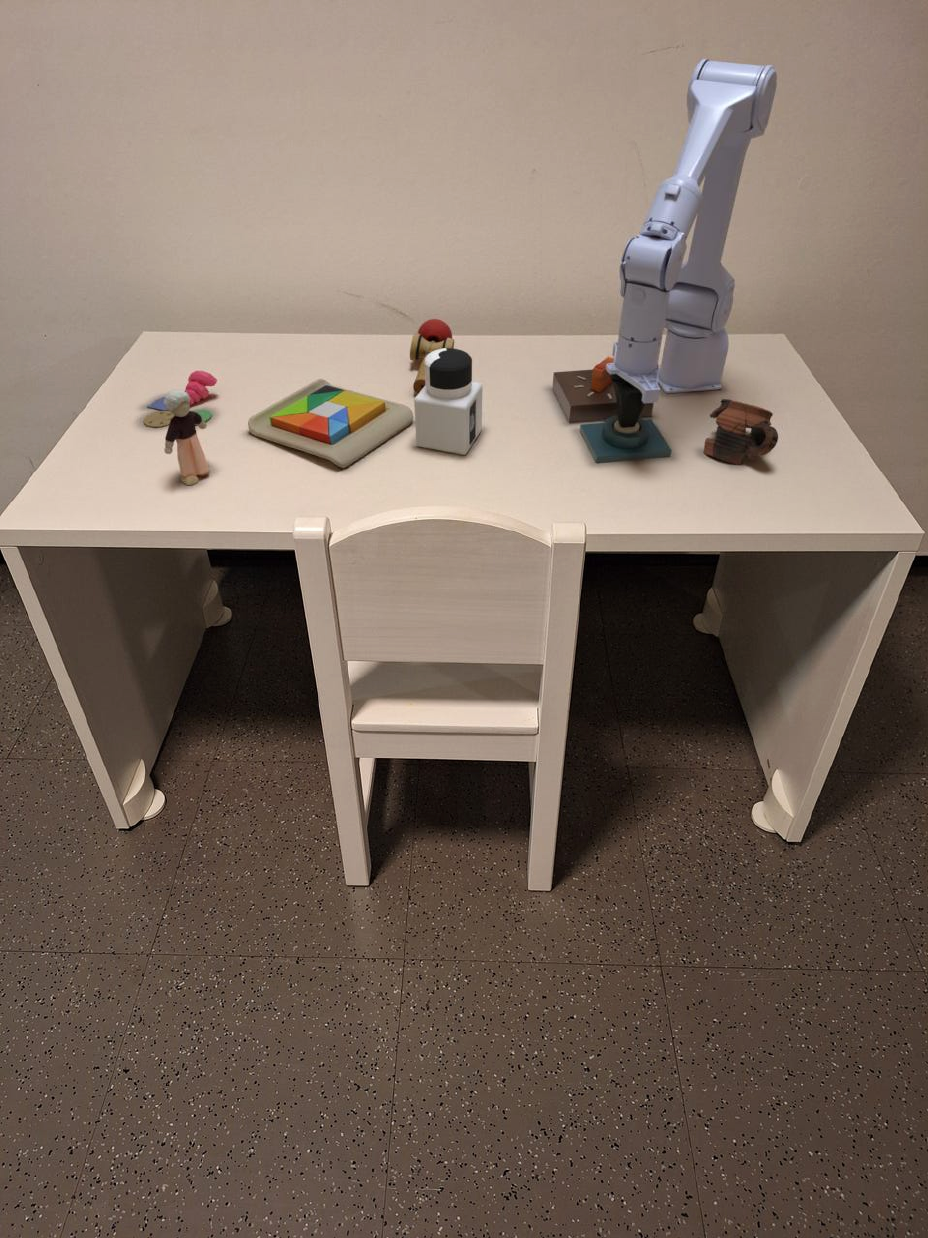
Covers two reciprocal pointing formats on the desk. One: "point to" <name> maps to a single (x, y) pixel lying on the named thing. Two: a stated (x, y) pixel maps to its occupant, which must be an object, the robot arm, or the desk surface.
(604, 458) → the button block
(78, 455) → the desk surface
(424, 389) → the container
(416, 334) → the kendama
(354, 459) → the wooden puzzle
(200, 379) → the toy pieces
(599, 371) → the dial knob
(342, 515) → the desk surface
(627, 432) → the button
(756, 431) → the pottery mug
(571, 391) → the dial board
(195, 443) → the grandmother figurine
